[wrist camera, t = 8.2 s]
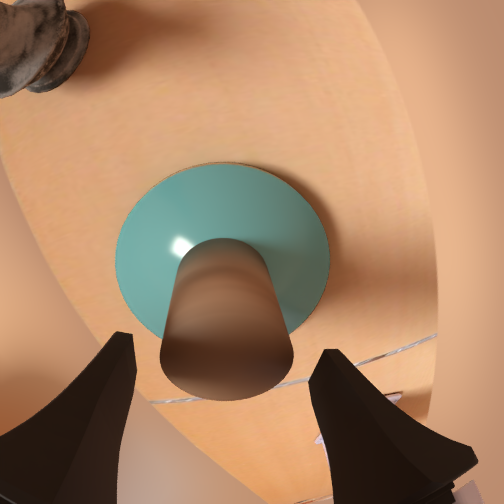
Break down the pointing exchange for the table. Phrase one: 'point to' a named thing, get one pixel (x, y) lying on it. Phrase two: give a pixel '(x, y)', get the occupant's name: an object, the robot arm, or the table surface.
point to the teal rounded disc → (221, 226)
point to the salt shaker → (39, 45)
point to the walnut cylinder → (225, 324)
